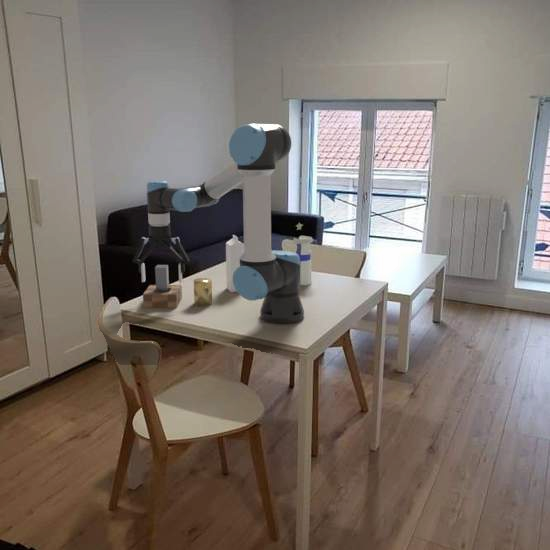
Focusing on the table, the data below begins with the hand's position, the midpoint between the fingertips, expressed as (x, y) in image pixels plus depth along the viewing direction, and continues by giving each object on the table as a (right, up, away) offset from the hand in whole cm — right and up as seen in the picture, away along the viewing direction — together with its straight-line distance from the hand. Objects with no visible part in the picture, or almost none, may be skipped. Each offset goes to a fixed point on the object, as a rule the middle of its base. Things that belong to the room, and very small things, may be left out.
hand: (162, 281), depth 208 cm
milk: (+26, -4, +19) cm, 32 cm away
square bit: (0, -8, +2) cm, 8 cm away
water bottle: (+53, -1, +29) cm, 60 cm away
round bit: (+15, -8, +1) cm, 17 cm away
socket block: (0, -8, +2) cm, 8 cm away
